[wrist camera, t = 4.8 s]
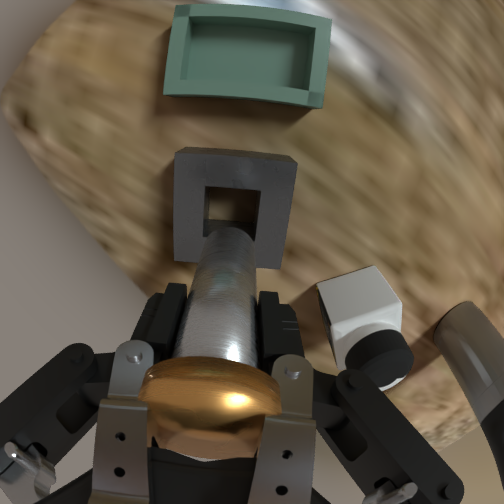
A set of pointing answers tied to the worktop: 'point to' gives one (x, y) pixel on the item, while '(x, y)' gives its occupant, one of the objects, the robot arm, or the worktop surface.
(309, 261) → the worktop surface
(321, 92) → the tray
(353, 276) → the medicine bottle
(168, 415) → the brass-capped metal pin
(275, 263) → the block
